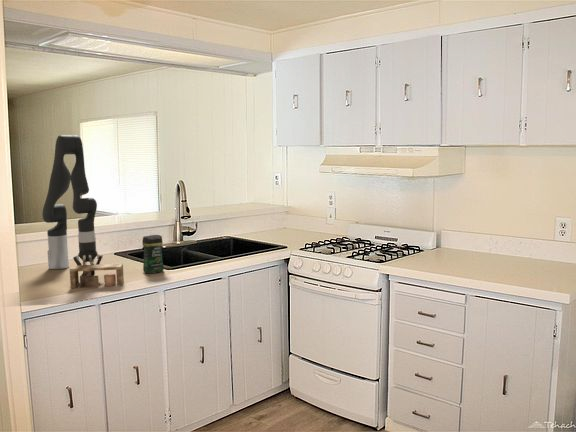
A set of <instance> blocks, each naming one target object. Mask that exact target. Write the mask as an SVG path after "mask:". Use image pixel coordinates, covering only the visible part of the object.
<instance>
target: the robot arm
mask: <svg viewBox="0 0 576 432" xmlns="http://www.w3.org/2000/svg"><path fill="white" fill-rule="evenodd" d="M83 146H84V145H83V142H82V139H81V137H80V135H76V134H61V135H58V136H57V138H56V141H55V145H54V147H55V148H54V156H53V157H54V158H53V164H52V168H51V173H50V179H49V184H48V189H47V194H46V198H45V202H44V204H43V207H42V220H43V221H44V222H45V223H46V224H47V223H48V224H49V223H51V224H52V223H53V224H54V223H56V225H54V226H53V227H51V228H49V229H47V245H48V247H47V248H48V249H47V263H48V269H49V270H61V269H67V268H69V267H70V265H69V264H70V261H69V248H68V247H69V246H68V234H67V232H68V230H67V229H68V220H67V219H68V218H67V217H68V213H67V208H66V206H65V204H63V203H57V202H58V200H59V199H61V197H63V196H64V195H65V193H67V191H68V190H69V188H70V185H71V188H72V192H73V193H72V195H73V196H72V197H73V199H72V200H73V201H72V210H73V211H74V213H75V214H86V216H85V217H82V218H79V219H78V221H77V225H78V226H77V228H78V236H77V237H78V239H77V240H78V254H76V255H74V256H73V258H72V259H73V260H74V263H75V264H76V266H77V265H88V264H87V263H88V262H89V265H100V263H101V262H102V259H103V256H104V255H102V254H99V253H98V251H97V243H96V239H97V238H96V233H95V218H96V214H97V213H96V212H97V209H98V202H97V201H96V199H95V198H94V197H84V198H83V197H82V198H81V196H85V195H87V194H88V193H89V192H90V188H89V183H88V179H87V175H86V167H85V156H84V147H83ZM65 155H74V156H75V163H74V166H73V168H72V171H70V170H69V168H68V167H67V165H66V163H65V160H64V157H65ZM96 258H97V261H96V264H95V259H96ZM81 261H82V263H81ZM83 273H84V271H82V274H83ZM91 276H96V271H91Z"/></svg>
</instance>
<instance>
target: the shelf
mask: <svg viewBox="0 0 576 432" xmlns="http://www.w3.org/2000/svg"><path fill="white" fill-rule="evenodd" d="M114 270H115V271H116V272H115V274H116V286H117V287H118V286H119V287H121V286H122V285H123V284H124V283H125V280H124V277H125V276H124V264H123V263H104V264H99V265H96V264H95V265H91V264H87V265H83V264H82V265H77V264H76V265H72V266H71V267H70V268H69V280H70V281H69V282H70V283H69V284H70V288H71V289H76V288H77V287H78V286H79V284H80V276H79V272H83V271H95V272H96V271H114Z"/></svg>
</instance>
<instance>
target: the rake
mask: <svg viewBox="0 0 576 432" xmlns="http://www.w3.org/2000/svg"><path fill="white" fill-rule="evenodd" d="M99 281H100V279H99V275H94V276H91V271H84V273H83V272H82V274H81V275H80V276H79V284H80V286H79V287H80V288H93V287H94V288H95V287H96V288H98V287H99V285H100V282H99Z"/></svg>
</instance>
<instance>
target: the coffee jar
mask: <svg viewBox="0 0 576 432" xmlns="http://www.w3.org/2000/svg"><path fill="white" fill-rule="evenodd" d="M141 244H142V246H143V265H142V267H143V269H142V271H143V273H146V274H157V273H161V272H163V271H164V261H163V252H162V247H163V237H162V235H160V234H150V235H145V236H142V243H141Z"/></svg>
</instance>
